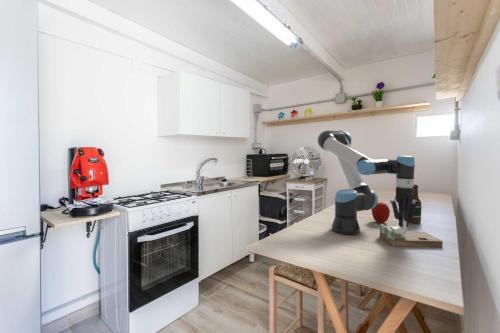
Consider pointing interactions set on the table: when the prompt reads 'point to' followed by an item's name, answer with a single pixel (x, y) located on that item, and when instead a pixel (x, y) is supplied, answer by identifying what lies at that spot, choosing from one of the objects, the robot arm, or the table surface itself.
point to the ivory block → (398, 230)
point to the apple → (381, 212)
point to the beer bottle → (417, 212)
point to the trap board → (409, 238)
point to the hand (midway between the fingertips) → (403, 233)
